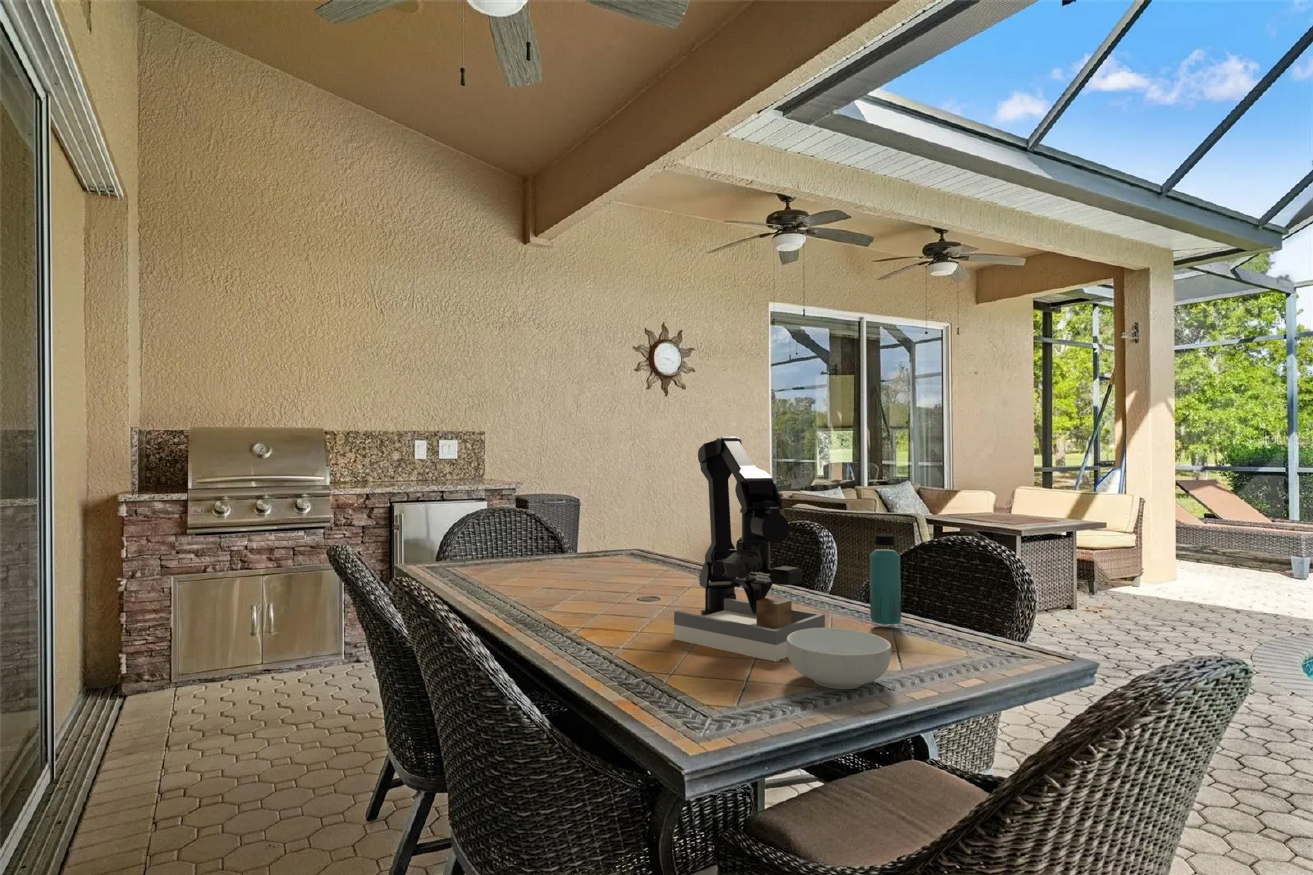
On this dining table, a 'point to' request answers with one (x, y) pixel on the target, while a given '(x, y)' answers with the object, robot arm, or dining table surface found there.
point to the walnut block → (774, 612)
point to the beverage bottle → (885, 583)
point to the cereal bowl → (838, 656)
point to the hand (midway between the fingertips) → (755, 613)
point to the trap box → (742, 630)
